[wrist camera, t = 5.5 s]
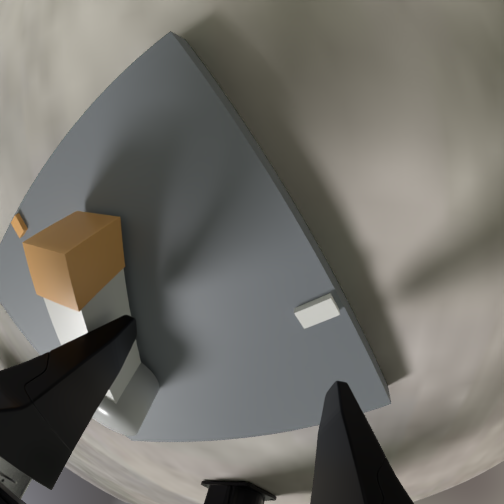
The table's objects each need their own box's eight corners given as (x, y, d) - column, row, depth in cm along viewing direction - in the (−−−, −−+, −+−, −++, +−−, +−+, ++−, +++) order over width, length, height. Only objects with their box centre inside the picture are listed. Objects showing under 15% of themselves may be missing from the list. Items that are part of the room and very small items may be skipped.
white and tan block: (163, 402, 14) (143, 443, 11) (110, 382, 14) (87, 418, 12) (136, 219, 9) (82, 258, 7) (65, 209, 10) (11, 239, 7)
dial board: (387, 386, 13) (391, 408, 11) (136, 430, 20) (130, 442, 19) (184, 39, 8) (166, 29, 6) (-5, 271, 15) (-17, 280, 14)
